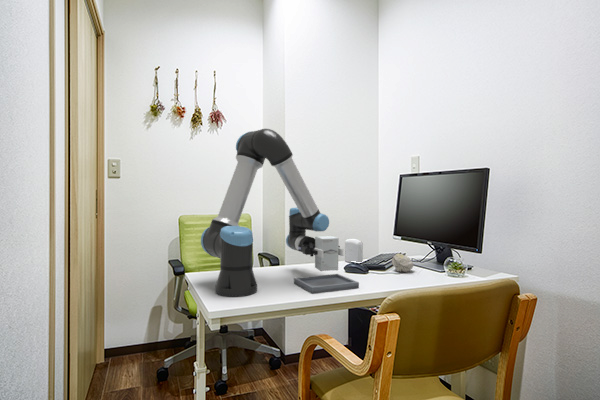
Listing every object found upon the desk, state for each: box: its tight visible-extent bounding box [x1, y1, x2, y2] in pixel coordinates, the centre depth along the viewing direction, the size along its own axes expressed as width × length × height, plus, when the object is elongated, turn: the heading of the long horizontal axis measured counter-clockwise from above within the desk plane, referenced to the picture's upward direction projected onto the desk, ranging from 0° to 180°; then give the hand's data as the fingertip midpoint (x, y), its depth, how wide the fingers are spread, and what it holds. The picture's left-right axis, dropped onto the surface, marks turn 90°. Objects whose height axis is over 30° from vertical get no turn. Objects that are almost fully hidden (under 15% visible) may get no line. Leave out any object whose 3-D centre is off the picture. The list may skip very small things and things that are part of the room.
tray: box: [293, 273, 360, 295], centre depth 147 cm, size 20×16×2 cm
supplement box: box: [314, 235, 340, 272], centre depth 147 cm, size 7×7×13 cm
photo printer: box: [344, 238, 364, 263], centre depth 195 cm, size 10×4×12 cm, turn 39°
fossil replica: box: [391, 253, 415, 273], centre depth 176 cm, size 12×8×10 cm
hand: (332, 253), depth 143 cm, fingers closed on supplement box, 8 cm apart
